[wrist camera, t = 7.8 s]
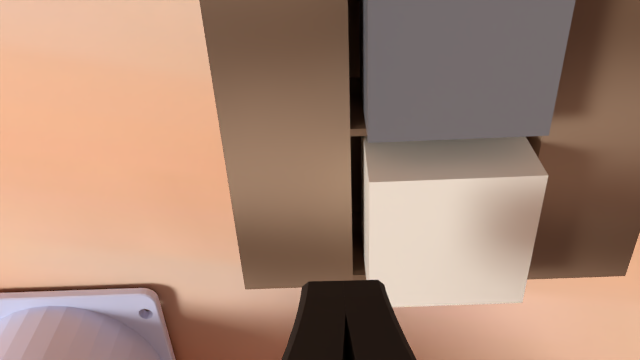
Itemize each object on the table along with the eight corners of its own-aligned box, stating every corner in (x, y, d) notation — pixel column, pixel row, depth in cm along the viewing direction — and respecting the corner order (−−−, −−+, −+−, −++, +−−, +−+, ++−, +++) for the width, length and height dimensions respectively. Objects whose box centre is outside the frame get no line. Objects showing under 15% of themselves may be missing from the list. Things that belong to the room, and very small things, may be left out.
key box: (579, 202, 20) (624, 275, 17) (255, 214, 20) (245, 289, 17) (731, -412, 12) (872, -476, 9) (177, -378, 12) (131, -429, 9)
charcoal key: (510, 75, 16) (549, 135, 13) (359, 82, 16) (368, 142, 13) (533, -87, 14) (586, -54, 11) (358, -79, 14) (368, -44, 11)
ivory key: (492, 226, 18) (522, 302, 16) (361, 231, 18) (368, 308, 16) (509, 109, 16) (548, 175, 13) (360, 115, 16) (369, 182, 13)
